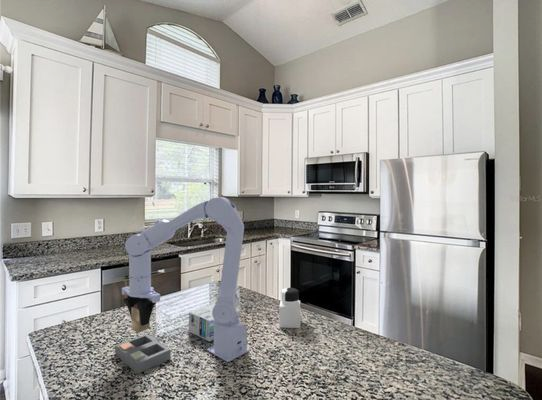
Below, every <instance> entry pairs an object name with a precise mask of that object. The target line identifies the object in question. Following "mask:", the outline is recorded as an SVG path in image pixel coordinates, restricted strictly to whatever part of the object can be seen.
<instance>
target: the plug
mask: <svg viewBox="0 0 542 400" xmlns="http://www.w3.org/2000/svg"><path fill="white" fill-rule="evenodd" d="M130 318H131V322H130V323H131V330H132V331H133V332H136V333H139V334H140V333H143V332H144V331H146V330H148V329H150V327H151V326H150V325H151V324H150V321H149V323H148V324H146V325H144V326H142V325H141V322H140V313H139V309H138V307H137V305H136V304H134V307H131V316H130Z"/></svg>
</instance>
